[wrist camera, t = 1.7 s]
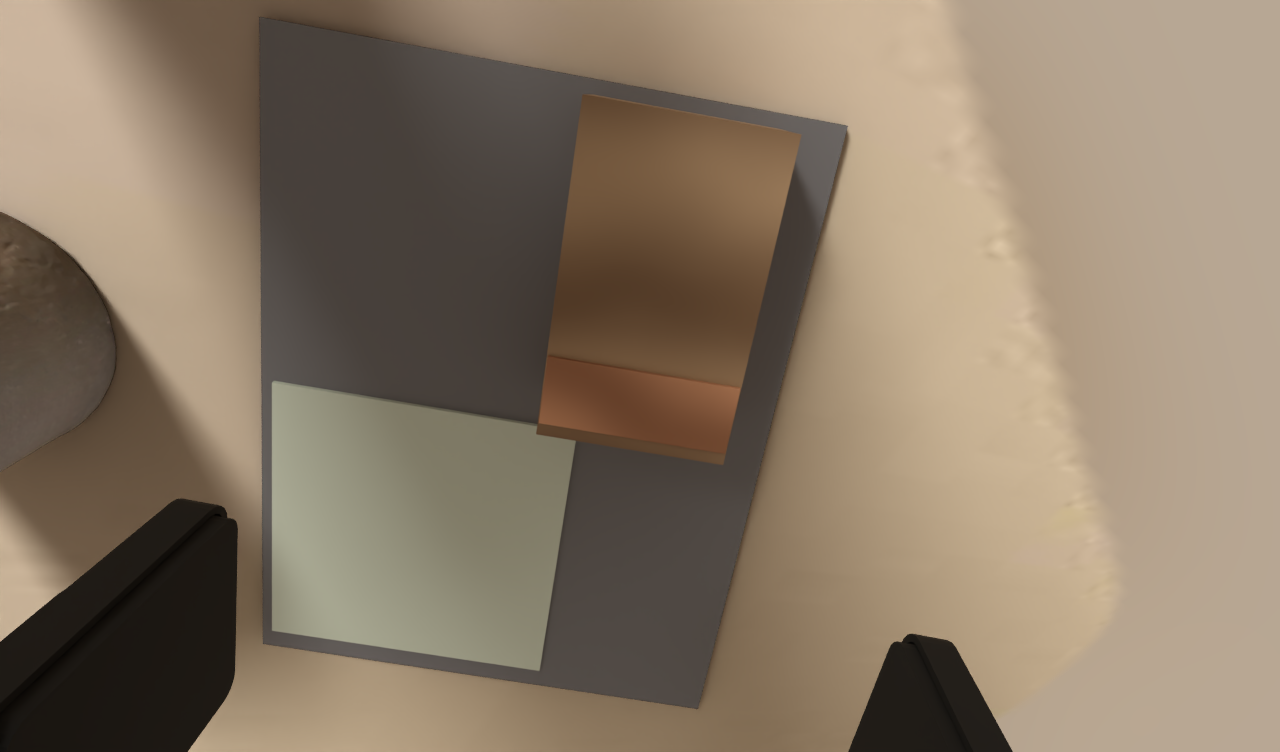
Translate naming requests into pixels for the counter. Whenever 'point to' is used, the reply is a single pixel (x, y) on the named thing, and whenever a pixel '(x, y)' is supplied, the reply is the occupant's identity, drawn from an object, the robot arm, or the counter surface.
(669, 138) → the brown rectangular block
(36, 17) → the counter surface
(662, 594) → the mat
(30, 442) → the pillar candle
